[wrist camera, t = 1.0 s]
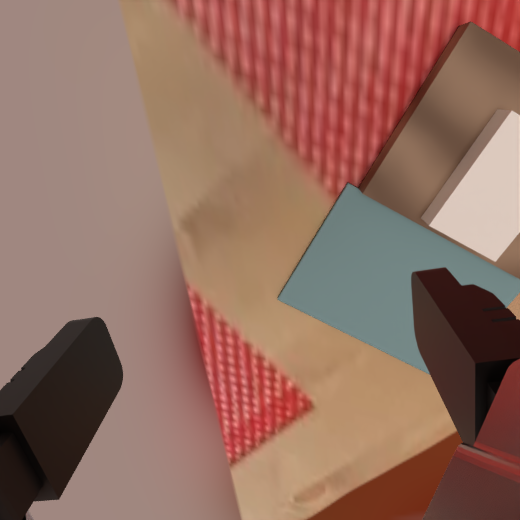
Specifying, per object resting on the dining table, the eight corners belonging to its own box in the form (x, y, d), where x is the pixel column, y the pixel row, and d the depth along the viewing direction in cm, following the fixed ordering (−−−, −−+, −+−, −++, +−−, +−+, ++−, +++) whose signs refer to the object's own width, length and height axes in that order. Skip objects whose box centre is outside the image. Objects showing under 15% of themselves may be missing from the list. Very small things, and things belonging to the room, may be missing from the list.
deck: (459, 26, 29) (471, 21, 27) (635, 136, 31) (657, 138, 29) (358, 188, 34) (362, 193, 32) (517, 274, 36) (529, 284, 34)
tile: (497, 109, 29) (511, 110, 27) (565, 150, 30) (583, 154, 28) (420, 217, 32) (428, 225, 30) (483, 252, 33) (495, 261, 31)
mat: (347, 182, 34) (348, 183, 33) (526, 279, 36) (529, 281, 35) (277, 297, 38) (277, 299, 37) (440, 378, 40) (442, 380, 40)
